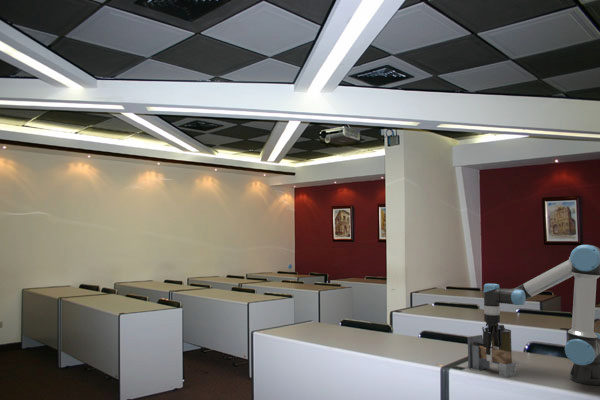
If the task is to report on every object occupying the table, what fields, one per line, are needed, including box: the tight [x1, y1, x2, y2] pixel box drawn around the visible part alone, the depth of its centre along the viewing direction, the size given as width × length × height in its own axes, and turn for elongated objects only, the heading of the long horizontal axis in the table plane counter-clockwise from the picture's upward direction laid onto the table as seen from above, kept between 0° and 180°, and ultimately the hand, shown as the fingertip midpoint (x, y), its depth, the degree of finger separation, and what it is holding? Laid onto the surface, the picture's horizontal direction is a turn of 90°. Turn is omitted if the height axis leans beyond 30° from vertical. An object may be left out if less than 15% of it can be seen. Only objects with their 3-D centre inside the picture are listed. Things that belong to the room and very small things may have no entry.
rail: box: [480, 346, 513, 364], centre depth 237 cm, size 18×5×5 cm, turn 33°
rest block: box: [498, 361, 517, 378], centre depth 230 cm, size 4×8×6 cm, turn 123°
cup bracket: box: [467, 334, 491, 371], centre depth 244 cm, size 6×11×16 cm, turn 123°
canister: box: [491, 324, 513, 364], centre depth 258 cm, size 11×10×20 cm
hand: (492, 360), depth 237 cm, fingers closed on rail, 5 cm apart
